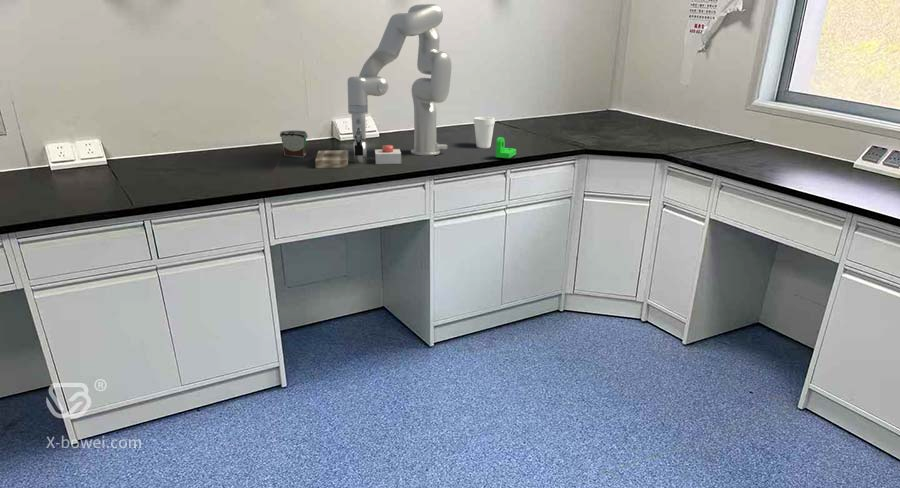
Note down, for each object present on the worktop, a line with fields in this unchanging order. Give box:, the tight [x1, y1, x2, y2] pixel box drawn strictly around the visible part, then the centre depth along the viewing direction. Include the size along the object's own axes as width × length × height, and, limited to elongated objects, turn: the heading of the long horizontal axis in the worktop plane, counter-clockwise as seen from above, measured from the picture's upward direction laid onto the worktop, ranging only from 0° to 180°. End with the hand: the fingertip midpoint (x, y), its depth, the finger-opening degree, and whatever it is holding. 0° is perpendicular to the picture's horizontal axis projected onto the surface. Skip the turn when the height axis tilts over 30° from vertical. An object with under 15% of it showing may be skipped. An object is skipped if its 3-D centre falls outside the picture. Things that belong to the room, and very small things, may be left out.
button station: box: [374, 148, 402, 165], centre depth 242 cm, size 10×10×4 cm
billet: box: [353, 140, 368, 164], centre depth 240 cm, size 5×5×8 cm
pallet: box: [314, 149, 349, 169], centre depth 239 cm, size 12×20×3 cm, turn 8°
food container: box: [279, 130, 308, 158], centre depth 252 cm, size 12×6×10 cm, turn 71°
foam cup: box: [473, 116, 496, 149], centre depth 274 cm, size 10×9×13 cm
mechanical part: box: [495, 136, 517, 159], centre depth 257 cm, size 12×6×8 cm, turn 157°
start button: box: [381, 144, 394, 152], centre depth 241 cm, size 4×4×2 cm
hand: (358, 153), depth 240 cm, fingers open, 9 cm apart
